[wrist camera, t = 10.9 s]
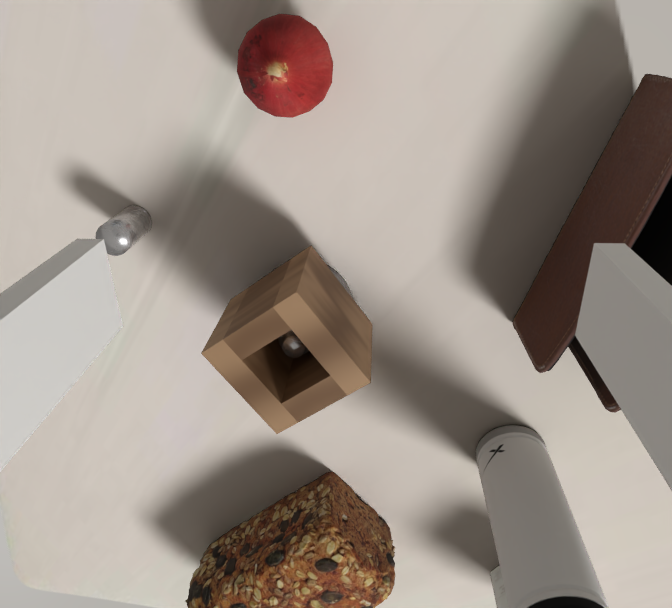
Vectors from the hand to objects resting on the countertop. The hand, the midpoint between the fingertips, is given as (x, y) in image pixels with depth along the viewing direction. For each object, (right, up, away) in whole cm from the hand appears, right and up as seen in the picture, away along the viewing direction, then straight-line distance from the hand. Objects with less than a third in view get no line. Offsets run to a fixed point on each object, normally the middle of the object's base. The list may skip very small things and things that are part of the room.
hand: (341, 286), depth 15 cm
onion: (-3, +16, +22) cm, 27 cm away
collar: (-3, -1, +28) cm, 28 cm away
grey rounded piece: (-16, +6, +28) cm, 33 cm away
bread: (-4, -24, +43) cm, 49 cm away
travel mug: (+16, -14, +36) cm, 41 cm away
